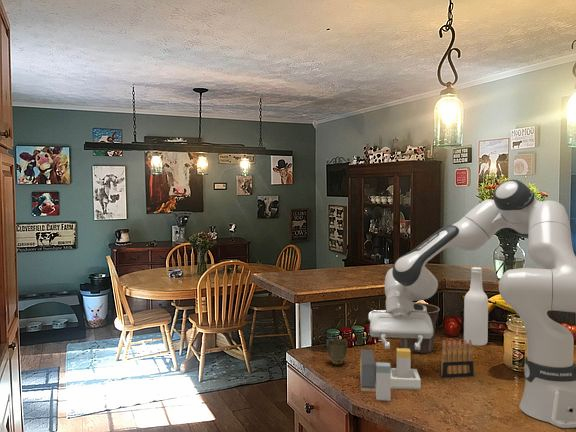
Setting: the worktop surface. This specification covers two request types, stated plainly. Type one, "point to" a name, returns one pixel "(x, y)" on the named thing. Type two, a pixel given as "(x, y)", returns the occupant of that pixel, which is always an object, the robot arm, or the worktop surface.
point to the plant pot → (426, 344)
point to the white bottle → (476, 311)
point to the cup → (337, 350)
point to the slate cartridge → (383, 381)
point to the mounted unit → (367, 371)
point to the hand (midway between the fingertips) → (402, 348)
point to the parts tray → (406, 381)
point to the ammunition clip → (457, 360)
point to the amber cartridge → (403, 363)
